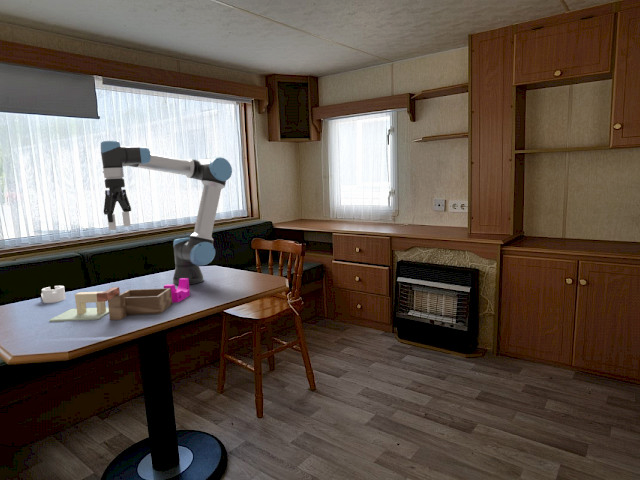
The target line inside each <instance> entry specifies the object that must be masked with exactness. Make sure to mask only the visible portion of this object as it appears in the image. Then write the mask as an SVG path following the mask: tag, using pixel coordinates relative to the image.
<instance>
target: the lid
mask: <svg viewBox="0 0 640 480" xmlns="http://www.w3.org/2000/svg"><path fill="white" fill-rule="evenodd" d="M103 292H105V291H103V290H102V291H85V292H84V291H81V292H76V293H75V294H74V298H75V299H74V300H75V305H76V307H75V308H70V309H69V310H66V311H64V312H62V313H60V314H59V315H56V316H54V317H52V318H50V319H49V323H53V322H54V323H55V322H56V323H58V322H60V323H61V322H62V323H63V322H67V321H68V322H71V321H73V322H74V321H95V320H96V321H98V320H101V319H102V318H103V317H106V316H107V315H109V307H107V306H106V301H103V302H97V293H103ZM87 303H89V304H91V303H95V306H96V307H87Z"/></svg>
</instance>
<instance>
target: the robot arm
mask: <svg viewBox="0 0 640 480" xmlns="http://www.w3.org/2000/svg"><path fill="white" fill-rule="evenodd" d="M100 156H101V161H102V170H103V171H102V173H103V177H104V185H105V188H106V189H108V190H105V191H104V194H105V195H104V205H103V213H104V214H103V215H105V216H107V224H108V230H109V231H117V222H116V215H115V213H114V212H115V208H116V204H117V203H118V205H119V206H120V208H121V210H122V212H121V214H122V221H123V223H122V224H123V227H124V228H125V227H131V226H132V225H131V218H130V212H132V206H131V204H130V201H129V198H128V195H127V190H126V189H122V188H125V186H126V185H125V183H126V182H125V179H124V177H125V176H124V175H125V173H124V167H130V168H140V169H145V170H149V171H150V170H152V171H158V172H163V173H169V174H175V175H181V176H185V177H186V178H189V179H194V180H198V181H201V184H202V185H203V188H202V192H201V197H200V200H199V206H198V212H197V216H196V221H195V225H194V230H193V232H192V234H190V235H189V237H182V238H176V239H174V240H173V244H172V245H173V246H172V247H173V255H174V264H175V265H174V266H175V269H174V274H173V276H172V277H173V278H172V284H175V286H176V285H179V279H181V278H189V285H194V284H199V283H201V282H203V281H204V274H203V273H202V272H203V271H202V270H201V268H200V266H207V265H208V264H210V263H212V261H213V260H214V259H215V256H216V249H215V247H214V238H213V236H212V235H213V230H214V227H215V226H214V225H215V220H216V216H217V212H218V211H217V210H218V206H219V201H220V198H221V197H220V196H221V192H222V190H223V189H225V188H226V183H227V180H229V179H230V178H231V177H232V175H233V174H232V173H233V168H232V164H231V163H230V162H229V160H227V159H226V158H225V157H221V156H220V157H218V156H215V157H212V158H211V157H210V158H203V159H193V158H189V159H183V158H176V157H173V156H172V157H171V156H165V155H160V154H155V153H151V151H150V148H148V147H147V146H141V145H140V146H135V145H134V146H130V145H129V146H123V145H121V143H120V141H119V140H105V141H102V142H100Z"/></svg>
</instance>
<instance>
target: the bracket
mask: <svg viewBox="0 0 640 480" xmlns="http://www.w3.org/2000/svg"><path fill="white" fill-rule="evenodd" d="M65 289H66V288H65V286H64V285H54V289H51V286H48V287H43V288H42V289H41V293H40V295H41V296H40V297H41V300H42V302H43V303H44V304H53V303H58V302H62V301H65V300H66V297H67V296H66V291H65Z"/></svg>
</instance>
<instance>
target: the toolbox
mask: <svg viewBox="0 0 640 480" xmlns="http://www.w3.org/2000/svg"><path fill="white" fill-rule="evenodd" d="M107 305H108V307H109V314H108V315H109V321H115V320H117V321H118V320H123V319H124V318H126V317H127V316H135V315H136V316H137V315H139V316H140V315H161V314H162V313H163V312H164V311H166V310H167V309H169V308H170V307H171V306H172V305H173V302H172V296H171V288H164V287H163V288H139V289H128V290H126V291H124V292H121V293H120V294H118V295H116V296H114V297H112V298H111V299H109V300H108V301H107Z"/></svg>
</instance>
